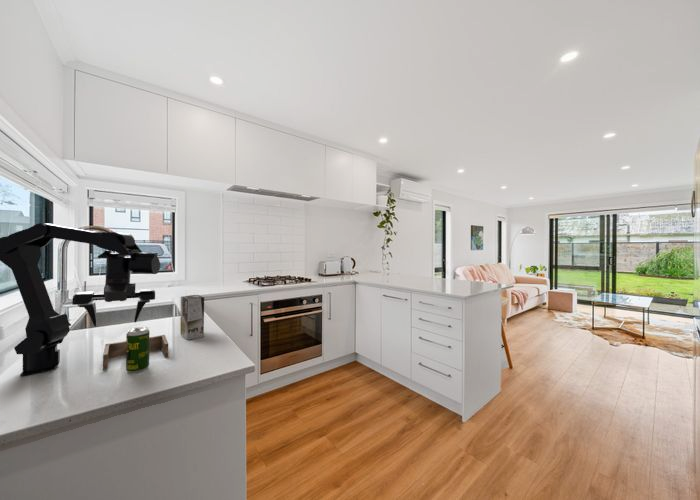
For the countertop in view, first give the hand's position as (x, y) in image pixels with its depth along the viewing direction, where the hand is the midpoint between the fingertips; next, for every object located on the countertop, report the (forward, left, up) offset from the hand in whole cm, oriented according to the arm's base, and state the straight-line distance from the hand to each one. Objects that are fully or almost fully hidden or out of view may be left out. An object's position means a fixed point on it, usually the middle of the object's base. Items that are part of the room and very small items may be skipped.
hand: (116, 324), depth 83 cm
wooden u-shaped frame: (+5, +3, -13) cm, 14 cm away
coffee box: (+23, +17, -13) cm, 31 cm away
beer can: (+5, -8, -13) cm, 16 cm away
